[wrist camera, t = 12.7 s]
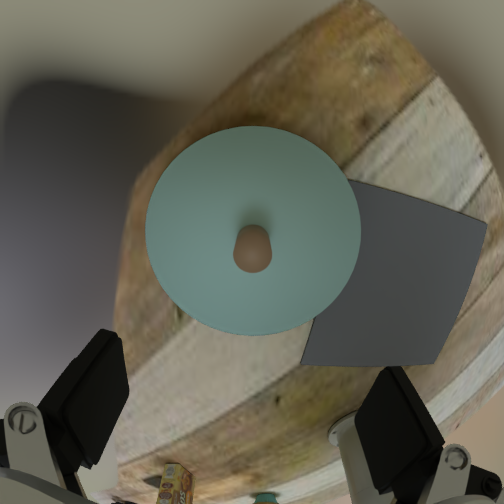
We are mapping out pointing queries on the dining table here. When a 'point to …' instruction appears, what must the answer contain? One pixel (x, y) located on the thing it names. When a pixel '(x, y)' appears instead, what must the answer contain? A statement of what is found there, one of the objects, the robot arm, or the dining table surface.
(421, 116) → the dining table surface
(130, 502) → the milk frother
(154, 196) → the lid
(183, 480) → the candy box
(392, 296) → the mat
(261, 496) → the cupcake
